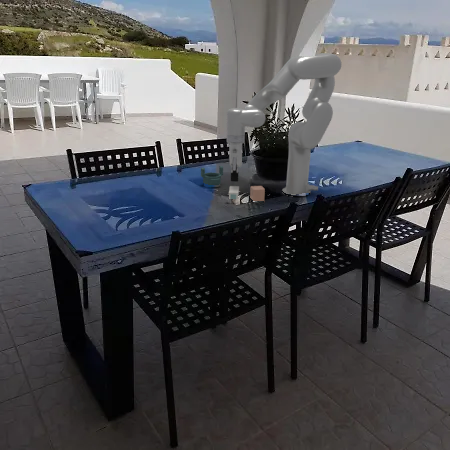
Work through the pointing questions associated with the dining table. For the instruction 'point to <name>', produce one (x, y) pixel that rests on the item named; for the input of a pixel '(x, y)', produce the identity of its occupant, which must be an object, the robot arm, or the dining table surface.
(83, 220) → the dining table surface
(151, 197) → the dining table surface
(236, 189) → the cream block
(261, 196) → the terracotta block
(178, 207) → the dining table surface
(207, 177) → the green basket
